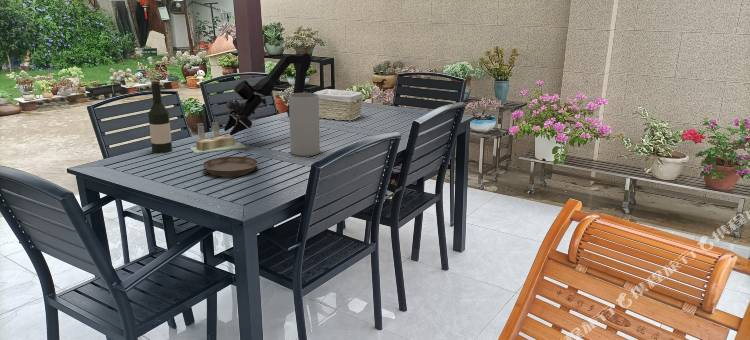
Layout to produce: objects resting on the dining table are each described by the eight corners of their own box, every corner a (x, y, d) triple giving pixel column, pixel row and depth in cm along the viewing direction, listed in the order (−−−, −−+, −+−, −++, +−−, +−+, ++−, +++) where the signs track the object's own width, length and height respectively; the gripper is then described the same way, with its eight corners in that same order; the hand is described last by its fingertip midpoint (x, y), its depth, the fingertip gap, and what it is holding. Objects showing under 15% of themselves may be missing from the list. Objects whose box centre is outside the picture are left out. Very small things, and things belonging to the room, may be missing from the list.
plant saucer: (236, 160, 229) (235, 152, 228) (269, 170, 217) (268, 162, 216) (192, 171, 214) (191, 163, 213) (225, 182, 201) (224, 174, 200)
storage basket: (363, 117, 315) (364, 91, 310) (350, 123, 301) (350, 95, 296) (326, 113, 324) (326, 88, 320) (312, 118, 310) (312, 92, 306)
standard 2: (218, 139, 262) (217, 122, 260) (220, 143, 255) (218, 126, 253) (213, 139, 261) (211, 122, 259) (214, 143, 254) (213, 126, 252)
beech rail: (234, 144, 251) (228, 142, 254) (234, 136, 250) (227, 135, 253) (202, 151, 240) (196, 148, 243) (201, 143, 239) (195, 141, 242)
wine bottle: (165, 154, 236) (158, 83, 227) (148, 152, 238) (140, 82, 229) (176, 149, 244) (169, 80, 235) (159, 148, 245) (152, 79, 237)
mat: (239, 142, 256) (239, 141, 256) (245, 147, 248) (245, 146, 247) (190, 148, 245) (190, 147, 245) (195, 153, 237) (195, 152, 237)
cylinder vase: (314, 157, 234) (313, 98, 227) (286, 155, 236) (284, 96, 229) (323, 150, 246) (322, 93, 238) (296, 148, 248) (294, 92, 241)
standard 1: (204, 140, 260) (202, 123, 258) (205, 144, 253) (204, 126, 251) (198, 140, 259) (197, 123, 257) (199, 144, 252) (198, 127, 250)
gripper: (231, 91, 252) (208, 117, 250) (243, 97, 237) (219, 125, 235) (249, 106, 258) (226, 132, 256) (262, 114, 243) (238, 141, 241)
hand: (227, 132), depth 247 cm, fingers open, 9 cm apart
